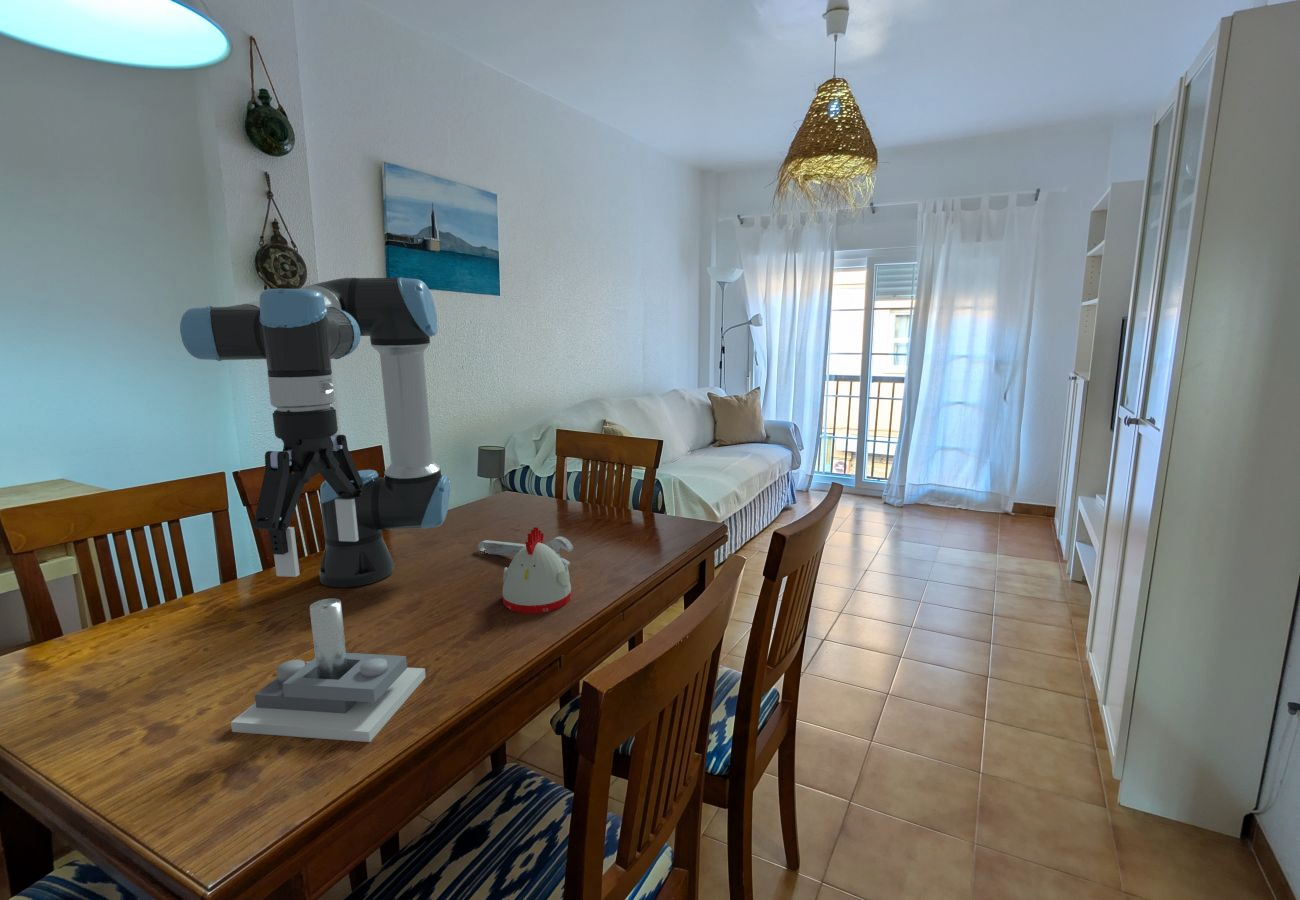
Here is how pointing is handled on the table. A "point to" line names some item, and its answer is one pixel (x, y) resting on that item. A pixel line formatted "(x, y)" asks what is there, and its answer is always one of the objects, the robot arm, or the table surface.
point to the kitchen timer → (536, 578)
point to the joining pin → (328, 639)
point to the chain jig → (331, 699)
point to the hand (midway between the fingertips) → (320, 557)
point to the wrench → (514, 548)
